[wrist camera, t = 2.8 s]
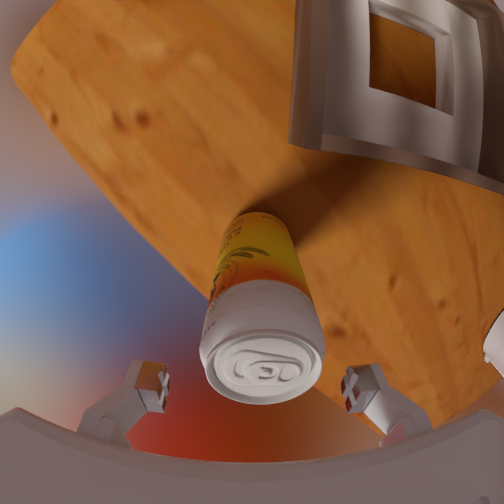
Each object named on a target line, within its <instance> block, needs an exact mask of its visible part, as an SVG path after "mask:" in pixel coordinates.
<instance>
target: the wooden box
mask: <svg viewBox="0 0 504 504" xmlns="http://www.w3.org/2000/svg"><path fill="white" fill-rule="evenodd" d="M369 13H372V14H375V15H378V16H381V17H384V18H387V19H389V20H392V21H395V22H397V23H400V24H402V25H405V26H407V27H410V28H412V29H414V30H416V31H419V32H421V33H423V34H425V35H427V36H429V37H431V38H433V39H434V41H435V57H436V105H435V109H434V108H431V107H429V106H426V105H424V104H421V103H418V102H416V101H413V100H410V99H407V98H404V97H401V96H398V95H395V94H391V93H388V92H385V91H381V90H378V89H374V88H370V87H369V73H370V28H369ZM288 143H290V144H293V145H296V146H299V147H302V148H305V149H314V150H322V151H329V152H336V153H343V154H349V155H355V156H361V157H367V158H372V159H377V160H382V161H387V162H392V163H397V164H401V165H406V166H410V167H414V168H418V169H422V170H426V171H430V172H434V173H437V174H441V175H444V176H448V177H451V178H455V179H458V180H461V181H464V182H467V183H470V184H474V185H476V186H479V187H482V188H485V189H488V190H491V191H493V192H496V193H499V194H501V195H504V13H503V12H502V11H501V10H500V9H499V8H498V7H496V6H495V5H494V4H493V3H491V2H490V1H489V0H296V11H295V36H294V57H293V75H292V91H291V106H290V120H289V133H288Z"/></svg>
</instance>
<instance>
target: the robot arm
mask: <svg viewBox="0 0 504 504" xmlns="http://www.w3.org/2000/svg"><path fill="white" fill-rule="evenodd" d="M483 351H484V352H485V358H484V360H485V362H486V363H488V362H490V361H491V363H492V364H493V365H494V366H495V367H496V368H497V370H498V371H499V372H500V373H501V374H502V376H503V377H504V310H503V312H502V313H501V314H500V316H499V317H498V318H497V320H496V321H495V323H494V324H493V326H492V328H491V329H490V331H489V333H488V335H487V337H486V339H485V342H484V346H483ZM346 373H347V375H345V376H344V377H343V379H342V381H341V392H342V395H343V396H344V397H345V398H346V401H345V406H346V409H347V413H348V414H349V413H357V412H364V413H365V414H366V415H367V416H368V417H369V418H370V419H371V420H372V421H373V422H374V423H375V424H376V425H377V426H378V427H379V428H380V429H381V430H382V431H383V432H384V433H385V434H386V436H385V437H384V438H383V439H382V440H381V441H380V443H379V445H380V447H378V448H374V449H369V450H365V451H360V452H355V453H350V454H345V455H339V456H333V457H326V458H319V459H312V460H302V461H290V462H272V463H230V462H212V461H201V460H192V459H183V458H176V457H170V456H164V455H158V454H153V453H147V452H142V451H138V450H134V449H131V443H130V442H129V441H128V439H127V438H126V437H125V435H124V434H125V433H126V432H127V431H128V430H129V429H130V428H131V427H132V426H133V425H134V424H135V423H136V422H137V421H138V420H139V419H140V418H141V417H142V416H143V415H144V414H145V413H146V412H147V411H152V412H159V413H165V408H166V404H167V400H166V396H167V395H168V394H169V390H170V376H169V375H168V374H167V365H166V364H161V363H154V362H149V361H143V360H137V359H134V360H133V361H132V363H131V365H130V368H129V371H128V373H127V376H126V379H125V381H124V384H123V386H118V387H117V388H116V389H114V390H113V391H112V392H110V393H109V394H107V395H106V396H105V397H103V398H102V399H101V400H99V401H98V402H96V403H95V404H93V405H92V406H91V407H89V408H88V409H86V410H85V412H84V414H83V417H82V419H81V422H80V425H79V427H78V430H77V432H74V431H71V430H69V429H66V428H63V427H61V426H59V425H56V424H54V423H52V422H49V421H47V420H45V419H43V418H41V417H38V416H36V415H34V414H32V413H30V412H28V411H26V410H24V409H22V408H18V407H17V408H14V409H12V410H10V411H8V412H6V413H4V414H2V415H1V416H0V504H504V419H502V418H501V417H499V416H497V415H496V414H494V413H492V412H490V411H488V410H486V409H479V410H477V411H475V412H473V413H471V414H469V415H467V416H464V417H462V418H460V419H458V420H456V421H453V422H451V423H449V424H446V425H444V426H442V427H439V428H437V429H433V427H432V425H431V422H430V420H429V418H428V416H427V413H426V411H425V410H424V409H422V408H421V407H419V406H418V405H417V404H415V403H414V402H412V401H411V400H410V399H408V398H407V397H405V396H404V395H402V394H401V393H400V392H398V391H397V390H395V389H394V388H390V386H389V384H388V382H387V380H386V377H385V375H384V373H383V371H382V369H381V367H380V364H378V363H373V364H363V365H355V366H349V367H348V368H347V370H346Z"/></svg>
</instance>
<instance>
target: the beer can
mask: <svg viewBox="0 0 504 504" xmlns="http://www.w3.org/2000/svg"><path fill="white" fill-rule="evenodd" d="M325 351H326V342H325V338H324V334H323V331H322V328H321V325H320V322H319V319H318V315H317V312H316V309H315V306H314V303H313V300H312V297H311V294H310V291H309V288H308V285H307V282H306V279H305V276H304V273H303V270H302V268H301V265H300V262H299V259H298V256H297V253H296V250H295V248H294V245H293V242H292V239H291V236H290V234H289V231H288V229H287V227H286V226H285V225H284V223H283V222H282V221H281V220H279V219H278V218H277V217H275V216H273V215H271V214H268V213H264V212H251V213H246V214H243V215H241V216H239V217H237V218H236V219H235V220H233V221H232V222H231V223H230V224H229V226H228V227H227V229H226V230H225V233H224V236H223V239H222V244H221V248H220V253H219V257H218V262H217V266H216V271H215V275H214V280H213V284H212V289H211V294H210V298H209V303H208V308H207V313H206V318H205V323H204V328H203V333H202V338H201V343H200V358H201V361H202V363H203V366H204V368H205V373H206V377H207V379H208V381H209V383H210V384H211V385H212V387H213V388H214V389H215V390H217V391H218V392H219V393H220V394H222V395H224V396H226V397H228V398H230V399H233V400H235V401H239V402H244V403H249V404H271V403H272V404H273V403H278V402H283V401H286V400H289V399H292V398H294V397H297V396H299V395H301V394H302V393H304V392H305V391H307V390H308V389H309V388H311V387H312V386H313V385H314V384H315V382H316V381H317V380H318V378H319V376H320V374H321V371H322V362H323V359H324V356H325Z"/></svg>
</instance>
